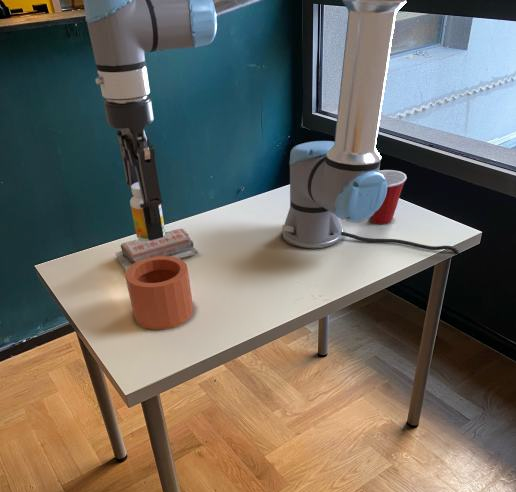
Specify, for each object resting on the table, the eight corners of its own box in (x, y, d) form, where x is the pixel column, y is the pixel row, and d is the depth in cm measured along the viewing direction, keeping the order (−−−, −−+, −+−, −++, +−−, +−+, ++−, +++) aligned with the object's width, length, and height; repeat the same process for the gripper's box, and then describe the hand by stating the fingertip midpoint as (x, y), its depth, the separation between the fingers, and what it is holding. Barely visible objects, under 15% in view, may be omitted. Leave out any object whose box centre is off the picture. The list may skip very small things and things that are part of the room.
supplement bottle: (134, 232, 98) (124, 182, 92) (161, 227, 99) (153, 177, 93) (140, 244, 94) (130, 192, 88) (168, 238, 95) (160, 187, 89)
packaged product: (180, 222, 131) (196, 237, 124) (182, 240, 134) (198, 255, 127) (111, 240, 124) (124, 257, 117) (115, 258, 127) (128, 275, 120)
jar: (198, 297, 111) (193, 256, 105) (186, 330, 102) (179, 287, 96) (144, 296, 113) (135, 255, 107) (127, 328, 103) (116, 286, 97)
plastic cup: (355, 213, 143) (359, 170, 135) (393, 210, 143) (399, 167, 136) (365, 230, 134) (369, 185, 127) (405, 227, 135) (412, 182, 127)
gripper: (90, 90, 87) (117, 219, 101) (119, 113, 74) (146, 256, 88) (132, 84, 90) (153, 210, 104) (168, 105, 77) (187, 246, 91)
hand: (150, 231), depth 96 cm, fingers closed on supplement bottle, 5 cm apart
